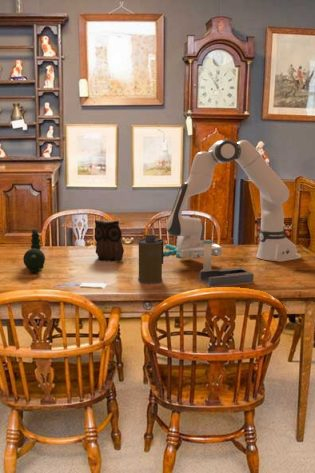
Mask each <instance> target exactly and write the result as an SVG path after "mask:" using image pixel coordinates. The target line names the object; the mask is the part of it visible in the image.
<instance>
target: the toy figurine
mask: <svg viewBox="0 0 315 473" xmlns="http://www.w3.org/2000/svg"><path fill="white" fill-rule="evenodd" d="M39 237H40V234H39V233H38V229H37V228H33V229H32V230H31V240H30V242H31V245H30V249H27V251H26V252H25V253H24V255H23V258H22V259H23V264H24V266H25V267H26V269H27V270H29V273H31V274H32V275H35V274H38V273H39V272H40V269H41V270H42V269H44V267H45V266H44V264H45V261H46V256H45V254H44V252H43V251H42V250H41V248H42V245H41V244H40V242H41V239H40V238H39Z"/></svg>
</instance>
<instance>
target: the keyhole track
mask: <svg viewBox="0 0 315 473" xmlns="http://www.w3.org/2000/svg"><path fill="white" fill-rule="evenodd" d="M198 280H199V281H201V282H202V283H203V284H205V285H206V286H208V287H209V288H210V287H212V288H218V287H217V286H222V287H229V286H239V285H240V286H241V285H247V284H248V285H249V284H254V283H255V282H254V273H253V272H250V271H249V270H247V269H245V268H244V267H241V266H239V267H233V268H232V267H231V268H221V269H212V270H207V271H201V270H200V271H199V279H198Z"/></svg>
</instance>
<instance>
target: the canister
mask: <svg viewBox="0 0 315 473" xmlns="http://www.w3.org/2000/svg"><path fill="white" fill-rule="evenodd" d="M143 237H144V238H141V239H139V240H137V243H138V278H137V281H139V282H140V283H142V284H143V283H144V284H150V283H152V284H159V283H162V281H163V265H164V256H163V252H164V239H163V238H157V237H156V235H155V234H153V233H148V234H144V235H143Z"/></svg>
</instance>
